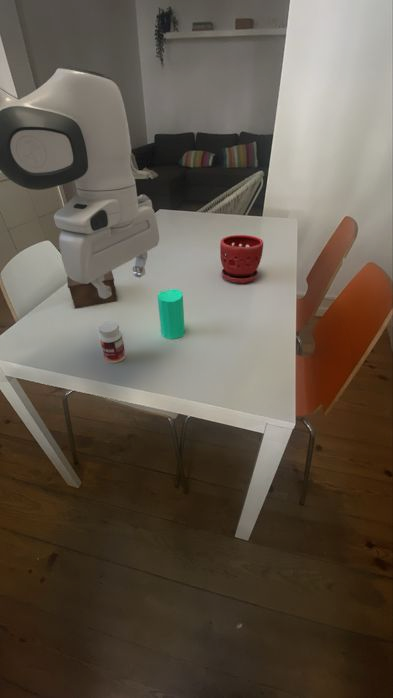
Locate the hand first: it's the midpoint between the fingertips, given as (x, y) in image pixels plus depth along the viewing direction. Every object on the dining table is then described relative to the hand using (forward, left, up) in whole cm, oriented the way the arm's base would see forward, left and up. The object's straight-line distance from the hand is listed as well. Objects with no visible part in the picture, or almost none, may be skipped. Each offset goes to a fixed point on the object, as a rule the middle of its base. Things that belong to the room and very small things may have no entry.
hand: (123, 285), depth 58 cm
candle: (+11, +9, -19) cm, 24 cm away
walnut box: (-6, +35, -19) cm, 41 cm away
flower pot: (+40, +32, -19) cm, 55 cm away
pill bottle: (-4, +4, -19) cm, 20 cm away
